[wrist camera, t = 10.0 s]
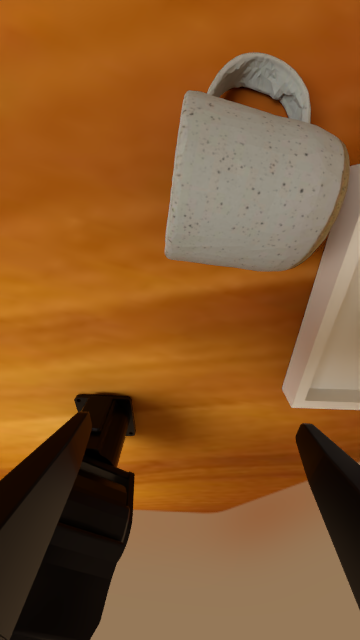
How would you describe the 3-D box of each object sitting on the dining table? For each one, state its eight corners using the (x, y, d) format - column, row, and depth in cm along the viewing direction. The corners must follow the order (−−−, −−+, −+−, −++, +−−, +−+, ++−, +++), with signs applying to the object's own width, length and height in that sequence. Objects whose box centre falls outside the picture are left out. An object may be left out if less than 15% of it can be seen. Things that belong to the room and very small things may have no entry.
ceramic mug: (268, 263, 17) (321, 295, 10) (168, 248, 17) (155, 270, 10) (325, 83, 13) (490, -73, 6) (189, 59, 12) (191, -136, 6)
